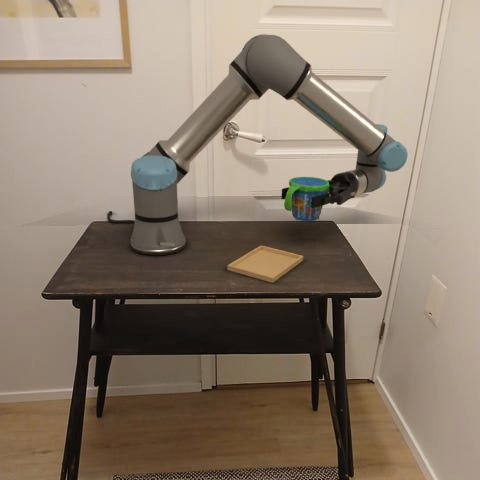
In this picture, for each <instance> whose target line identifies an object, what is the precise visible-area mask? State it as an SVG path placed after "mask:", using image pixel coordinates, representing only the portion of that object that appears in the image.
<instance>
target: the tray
mask: <svg viewBox="0 0 480 480" xmlns="http://www.w3.org/2000/svg"><path fill="white" fill-rule="evenodd" d="M303 261H304V255H301V254H297V253H294V252H290V251H286V250H282V249H277V248H274V247H269V246H266V245H259V246H258V247H256V248H254V249H252V250H251V251H249V252H247V253H246V254H244V255H242V256H241V257H239V258H238V259H235V260H234V261H232V262H230V263H229V264H227V266H226V267H227V268H226V269H227V271H229V272H233V273H237V274H240V275H244V276H247V277H251V278H254V279H258V280H260V281H261V280H262V281H264V282H267V283H272V284H274V283H275V282H276V281H278V280H279V279H280V278H282V277H283V276H284V275H286V274H287V273H288V272H289V271H292V269H294V268H295V267H296V266H298V265H299V264H301V263H302V262H303Z"/></svg>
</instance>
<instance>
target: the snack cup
mask: <svg viewBox="0 0 480 480" xmlns="http://www.w3.org/2000/svg"><path fill="white" fill-rule="evenodd" d="M288 187H289V189H288V191H287V194H286V198H285V199H284V203H283V207H284V209H285V210H286V211H287V212H291V216H292V218H294V219H295V220H296V221H301V222H308V223H309V222H314V221H317V220H319V219H320V217H321V214H322V209H323V206H324V205H323V206H319V207H316V208H311V201H312V197H315V196H319V195H322V194H326V193H329V182H328V181H327V180H326V179H324V178H320V177H314V176H297V177H292V178H290V179H289V181H288Z"/></svg>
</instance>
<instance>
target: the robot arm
mask: <svg viewBox="0 0 480 480" xmlns="http://www.w3.org/2000/svg"><path fill="white" fill-rule="evenodd" d="M269 90H270V91H273V92H275V93H276V94H278V95H279V96H281V97H282V98H283V99H285V100H286V101H291V100H293V101H295V102H296V103H297V104H298V105H299V106H301V107H302V108H303V109H304V110H306V111H307V112H309V113H310V114H311V115H313V116H314V117H315V118H316V119H317V120H318V121H320V122H321V123H322V124H324V125H325V126H327V127H328V128H329V129H331V130H332V131H333V132H334V133H335V134H337V135H338V136H339V137H341V138H342V139H343V140H344V141H346V142H347V143H349V145H351V146H352V147H354V148H355V149H356V150H357V154H356V155H357V156H356V164H355V169H351V170H347V171H344V172H339V173H336V174H334V175H333V177H331V179H328V180H326V181H328V182H329V193H326V194H322V195H319V196H315V197H312V201H311V208H316V207H319V206H325V205H329V204H331V205H334V204H336V206H341V205H343V204H344V203H346V202H348V201H350V200H351V199H355V198H356V196H360V195H363V194H367V193H372V192H373V193H374V192H375V191H377V190H379V189H381V188H382V187H383V186H384V185H385V183H386V181H387V174H386V171H387V172H389V173H392V172H393V173H394V172H397V171H399V170H400V169H402V168H403V167H404V166H405V164H406V163H407V160H408V150H407V148H406V146H405V145H403V144H402V143H401V142H399V141H397V140H395V139H394V138H393V137H392V136H390V135H389V134H388V127H387V125H384V124H378V123H377V124H376V123H375V122H373V121H372V120H371V119H370V118H369V117H367V116H366V115H365V114H364V113H362V111H360V110H359V109H358V108H357V107H355V106H354V105H353V104H352V103H350V101H348V100H347V99H345V98H344V97H343V96H342V95H341V94H340V93H339V92H337V90H335V89H334V88H332V87H331V86H330V85H329V84H327V83H326V81H323V80H322V78H320V77H319V76H318V75H317V74H315V73H314V72H313V68H312V64H311V63H309V62H308V61H307V60H306V59H305V58H304V57H302V56H301V54H299V53H298V52H297V51H296V49H294V47H292V45H291V44H290V43H289V42H287V40H286V39H284V38H283V37H281V36H279V35H276V34H266V33H263V34H258V35H255V36H253V37H250V39H248V41H246V43H245V44H244V45H243V47H242V49H241V51H240V52H239V54H237V56H236V57H235V58H234V59H233V60H232V61H231V63H229V65H228V74H227V76H226V77H225V78H223V80H222V81H221V82H220V83H219V84H218V85H217V86H216V87H215V88H214V89H213V90H212V91H211V93H209V95H208V96H207V97H206V98H205V99H204V100H203V101H202V102H201V103H200V105H199V106H198V107H197V108H196V109H195V110H194V111H193V112H192V113H191V114H190V115H189V117H188V118H187V119H186V120H184V122H183V123H182V124H181V125H180V126H179V127H178V129H176V130H175V132H174V133H173V134H172V135H171V136H170V137H169V138H168V139H165V140H164V139H163V140H161V139H160V140H159V141H158V142H157V143H156V144H155V145H154V146H153V147H152V148H151V149H150V150H149V151H148V152H146V153H144V154H143V155H142V156H141V157H139V158H136V159H134V161H132V163H131V167H130V168H131V169H130V178H131V182H132V193H133V194H132V195H133V207H134V208H133V209H134V219H135V220H133V219H112V218H111V216H112V215H113V211H112V210H109V211H108V213H107V215H106V220H108V222H109V223H113V224H124V223H125V224H127V223H128V224H133V228H132V233H131V236H130V248H131V250H132V251H133V252H135V253H138V254H141V255H145V256H155V257H157V256H159V257H160V256H167V255H174V254H176V253H179V252H181V251H183V250H184V249H185V248H186V245H187V244H186V243H187V242H186V236H185V234H184V232H183V230H182V226H181V222H180V220H179V207H178V206H179V204H178V202H179V201H178V184H179V183H180V182H181V181H182V180H183V179H184V178H185V177H186V176H187V174H188V173H189V172H190V171H191V169H190V167H191V166H190V164H191V163H192V162H193V160H195V158H196V157H197V156H198V155H199V154H200V153H201V152H202V151H203V150H204V149H205V148H206V147H207V146H208V145H209V143H210V142H211V141H212V140H214V139H215V137H216V136H217V135H218V134H219V133H220V132H221V131H222V130H223V129H224V128H225V127H226V126H227V125H228V124H229V123H230V122H231V121H232V120H233V119H234V117H236V115H238V114H239V113H240V111H242V109H243V108H244V107H245V106H246V105H247V104H248V103H249V102H250V101H252V100H260V99H261V98H262V97H263V95H265V93H266V92H268V91H269ZM289 187H290V186H288V187H283V188H281V198H280V199H281V200H285V198H286V194H287V191H288V189H289Z"/></svg>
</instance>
